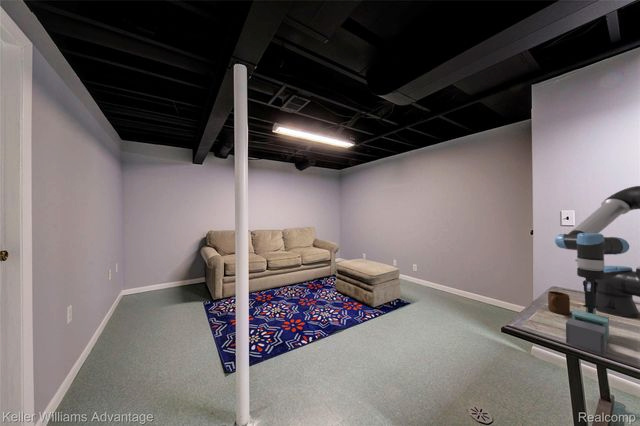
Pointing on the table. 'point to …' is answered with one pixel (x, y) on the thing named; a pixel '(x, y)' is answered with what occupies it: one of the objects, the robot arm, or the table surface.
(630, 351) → the table surface
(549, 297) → the mug
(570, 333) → the charcoal cap
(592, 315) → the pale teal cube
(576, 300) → the table surface
